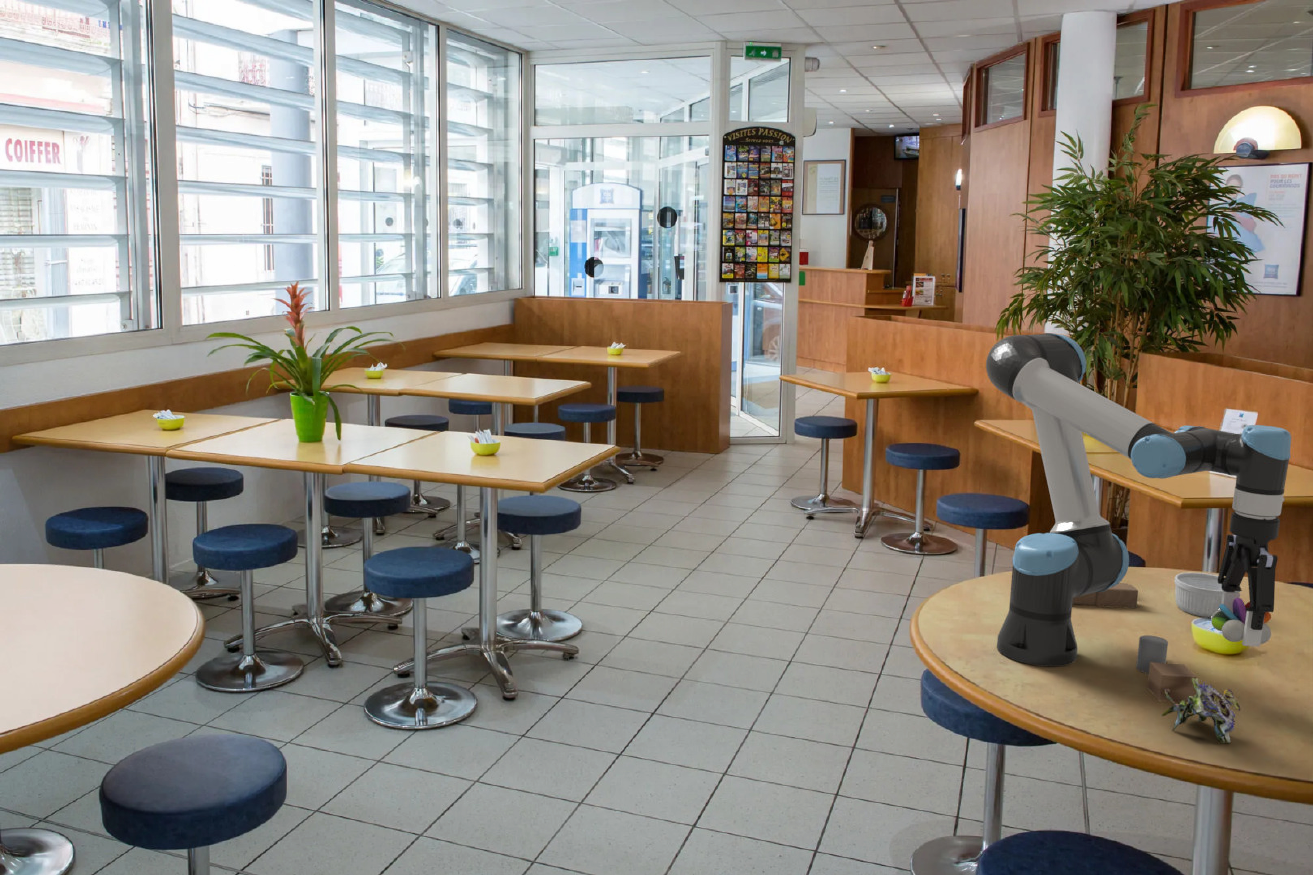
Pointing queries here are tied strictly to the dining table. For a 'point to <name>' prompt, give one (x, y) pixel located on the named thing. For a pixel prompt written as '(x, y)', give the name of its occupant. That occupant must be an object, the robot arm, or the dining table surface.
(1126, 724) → the dining table surface
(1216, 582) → the ramekin
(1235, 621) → the rainbow cloud toy
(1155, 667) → the walnut block
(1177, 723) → the passion flower
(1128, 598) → the wooden block set
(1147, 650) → the grey cylinder
